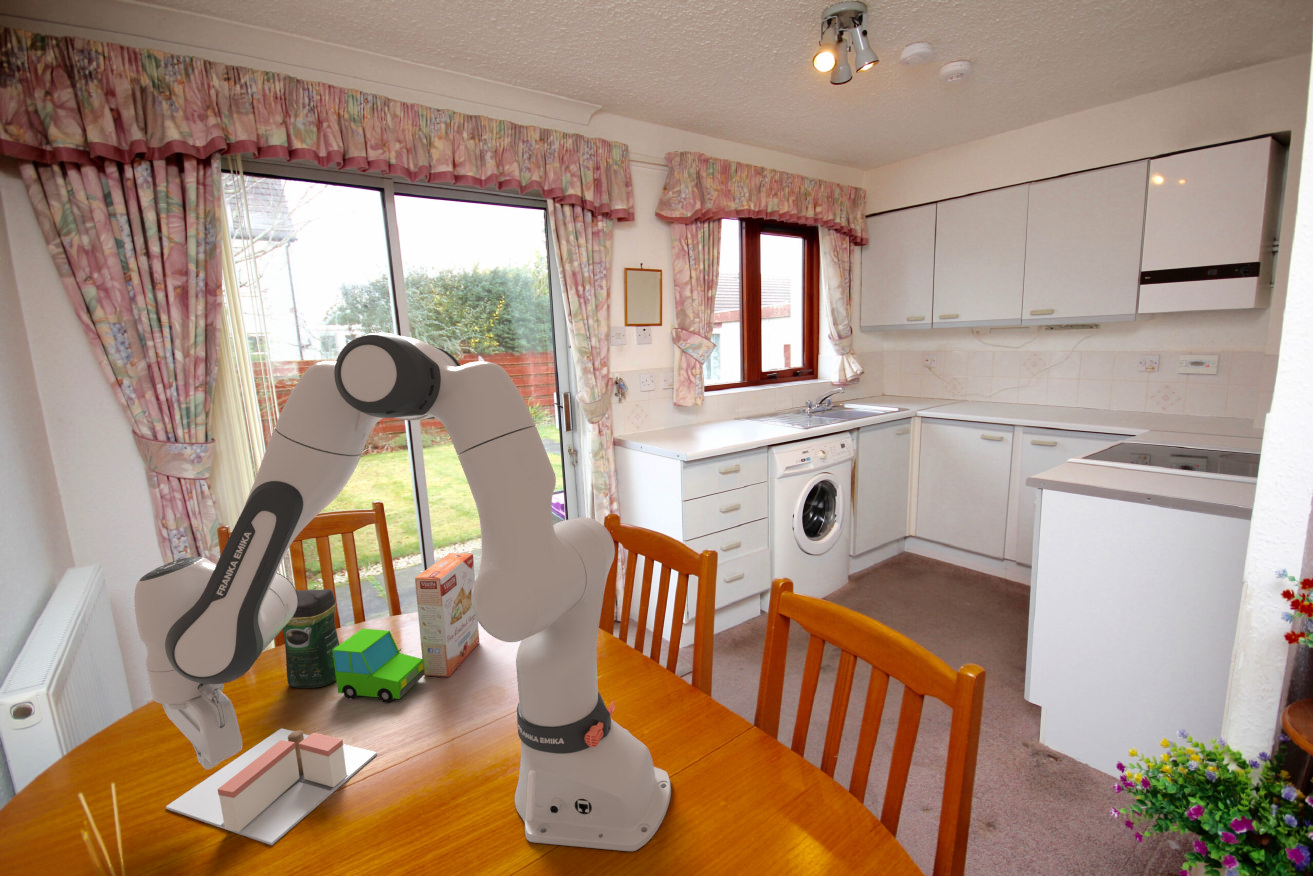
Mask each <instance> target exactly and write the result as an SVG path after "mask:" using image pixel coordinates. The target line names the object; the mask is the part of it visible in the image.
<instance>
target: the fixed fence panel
mask: <svg viewBox="0 0 1313 876" xmlns="http://www.w3.org/2000/svg"><path fill="white" fill-rule="evenodd" d="M308 735H309V736H308V737H307V738H305V739H304V740H302V741H301V742H300V743H298V744H299V749H300V753H301V759H302V766H303V773H304V779H306V780H310V781H313V782H317V783H320V784H324V785H327V786H330V787H335V786H336V785H337V784H338V783H339V782H340V781H342V780H343V779H344V778H345V777H346V776H347V773H346V766H345V758H344V751H343V744H344V740H343V739H341V738H338V737H333V736H329V735H325V734H321V733H319V732H312V733H310V734H308Z"/></svg>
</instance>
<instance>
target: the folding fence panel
mask: <svg viewBox="0 0 1313 876" xmlns="http://www.w3.org/2000/svg"><path fill="white" fill-rule="evenodd" d="M295 748H296V746H295V742H290V741H283V740H280V741H279V742H278V743H276V744H275V745H274V746H272V747H271V748H270V749H269V750H267V751H266V752H265V753H263V754H262V755H261V756H260V757H258V758H257V759H256V760H254V761H253V762H252V763H251V764H249V765H248V766H247V767H245V768H244V769H243V770H242V771H240V772H239V773H238V774H236V775H235V776H234V777H233V778H231V779H230V780H229V781H227V782H226V783H225V784H224V785H222V786H221V787H220V788H218V795H219V798H220V803H221V809H222V815H223V820H224V826H225V829H224V830H226V829H228V830H227V831H229V830H233V831H238V832H239V831H241V830H242V829H243V828H244V827H245V826H246V825H247V824H248V823H250V822H251V821H252V820H253V819H254V818H255V817H256V816H257V815H259V814H260V813H261V812H262V811H263V810H264V809H265V808H267V807H268V806H269V805H270V804H271V803H272V802H273V801H274V800H276V799H277V798H278V797H279V796H280V795H281V794H282V793H283V792H285V791H286V790H287V789H288V788H289V787H290V786H291V785H293V784H294V783H295V782H296V781H297V780H298V779H299V778H300V777H299V770H298V763H297V757H296V750H295Z"/></svg>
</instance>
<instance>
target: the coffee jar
mask: <svg viewBox="0 0 1313 876" xmlns="http://www.w3.org/2000/svg"><path fill="white" fill-rule="evenodd" d="M296 592H297V595H298V607H297V610H296V613H295V614H294V616H293V617H292V618H291V620H290V621H289V622H288V624H287V625H286V626H285V627H284V628H283V629H282V632H283V637H284V646H285V647H284V648H285V660H286V661H285V663H286V664H285V665H286V679H287V684H288V686H290V687H291V688H296V689H297V688H299V689H310V688H312V689H314V688H315V689H316V688H323V687H325V686H327V685H330V684H331V683H333V682H335V681H336V674H335V666H334V659H333V651H332V650H333V649H334V648H336V647H337V646H338V645H340V644H341V643H340V641H339V638H338V632H337V627H336V622H335V621H336V620H335V613H336V612H335V611H336V610H337V609H336V608H337V602H336V598H335V596H334V592H333V590H331V589H330V588H324V589H299V590H298V589H296Z"/></svg>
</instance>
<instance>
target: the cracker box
mask: <svg viewBox="0 0 1313 876" xmlns="http://www.w3.org/2000/svg"><path fill="white" fill-rule="evenodd" d="M474 563H475V561H474V554H473V553H467V552H466V553H464V552H462V553H457V552H456V553H455V552H449V553H448V554H447V555H446V554H445V556H444V557H442V558H441V559H439V560H438V561H437V562H435V563H434V564H432V565H431V566H430V567H428V568H427V569H426V570H425V569H424V571H423V572H421V573H419V574H418V575H417V576H415V578H414V582H415V584H414V585H415V592H416V603H417V606H416V607H417V615H418V624H419V626H418V627H419V635H420V637H419V639H420V647H421V659H423V666H424V676H431V677H444V678H450V676H451V675H452V674H453V673H454V672H455V671H456V669H458V667H459V666H460V665H461V664H462V663H463V661H464V660H466V658H467V657H468V656H469V655H470V654H471V653H472V651H473V650H474V649H475V648H476V647H477V646H478V645H479V643H480V633H479V622H478V620H477V619H476V616H475V614H474V611H473V607H472V600H471V595H472V589H473V585H474V583H475V580H476V577H475V564H474Z"/></svg>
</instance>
